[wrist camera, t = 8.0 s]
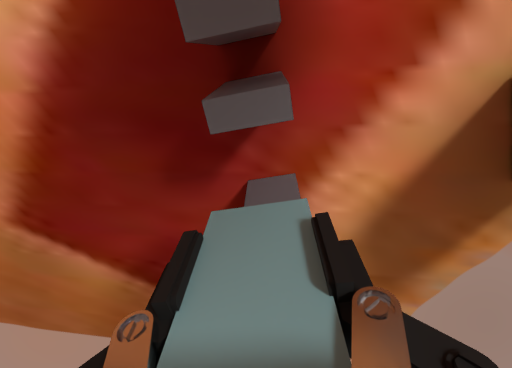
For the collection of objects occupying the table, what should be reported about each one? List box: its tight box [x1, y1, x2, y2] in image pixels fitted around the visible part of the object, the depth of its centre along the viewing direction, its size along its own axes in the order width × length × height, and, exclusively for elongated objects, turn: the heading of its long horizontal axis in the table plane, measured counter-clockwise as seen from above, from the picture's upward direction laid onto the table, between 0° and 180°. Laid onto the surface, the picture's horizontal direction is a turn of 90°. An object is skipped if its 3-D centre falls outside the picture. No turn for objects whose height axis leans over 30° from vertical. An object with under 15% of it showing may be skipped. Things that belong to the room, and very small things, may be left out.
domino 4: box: [157, 198, 351, 368], centre depth 10 cm, size 2×5×10 cm, turn 101°
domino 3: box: [244, 174, 301, 207], centre depth 24 cm, size 2×5×10 cm, turn 101°
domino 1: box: [175, 0, 281, 45], centre depth 18 cm, size 2×5×10 cm, turn 101°
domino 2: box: [202, 71, 294, 134], centre depth 20 cm, size 2×5×10 cm, turn 101°
